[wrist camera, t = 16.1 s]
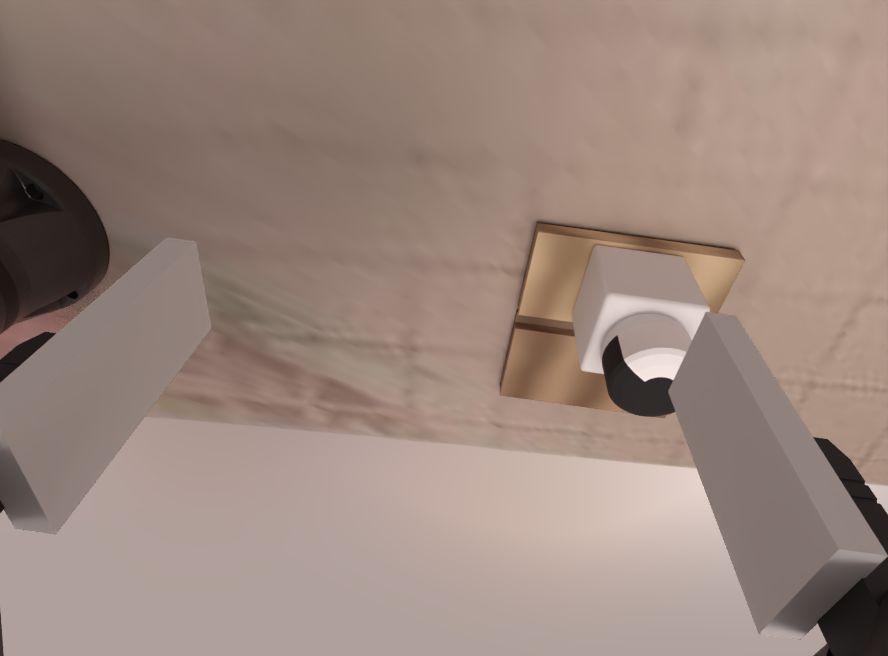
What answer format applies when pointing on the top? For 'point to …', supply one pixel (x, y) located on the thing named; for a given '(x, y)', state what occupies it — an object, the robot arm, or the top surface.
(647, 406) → the medicine bottle
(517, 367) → the laid board
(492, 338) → the top surface
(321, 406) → the top surface
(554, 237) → the plank
